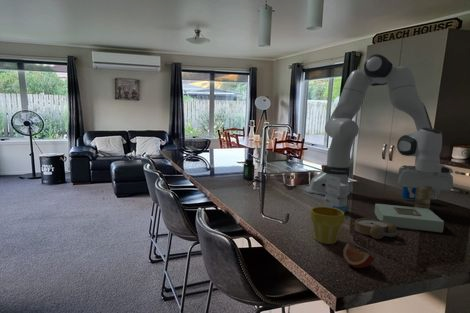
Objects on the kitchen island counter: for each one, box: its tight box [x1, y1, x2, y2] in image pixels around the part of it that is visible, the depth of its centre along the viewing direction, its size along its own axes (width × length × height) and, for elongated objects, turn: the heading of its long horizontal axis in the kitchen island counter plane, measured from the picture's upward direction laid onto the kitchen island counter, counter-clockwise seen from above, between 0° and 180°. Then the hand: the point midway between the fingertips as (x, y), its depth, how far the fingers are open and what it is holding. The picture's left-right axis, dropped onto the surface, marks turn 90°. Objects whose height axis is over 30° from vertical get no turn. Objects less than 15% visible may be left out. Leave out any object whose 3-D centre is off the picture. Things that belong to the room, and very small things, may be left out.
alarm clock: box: [351, 218, 398, 240], centre depth 107 cm, size 11×5×15 cm
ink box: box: [324, 175, 349, 213], centre depth 132 cm, size 8×5×15 cm, turn 26°
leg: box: [413, 186, 433, 210], centre depth 133 cm, size 5×5×12 cm
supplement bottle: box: [242, 158, 256, 181], centre depth 189 cm, size 7×7×12 cm
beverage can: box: [401, 187, 416, 202], centre depth 154 cm, size 6×6×12 cm
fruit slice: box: [342, 242, 375, 269], centre depth 84 cm, size 8×7×5 cm
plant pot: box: [310, 206, 345, 245], centre depth 100 cm, size 10×10×10 cm
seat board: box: [374, 203, 445, 233], centre depth 120 cm, size 20×16×4 cm
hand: (422, 198), depth 133 cm, fingers open, 7 cm apart
